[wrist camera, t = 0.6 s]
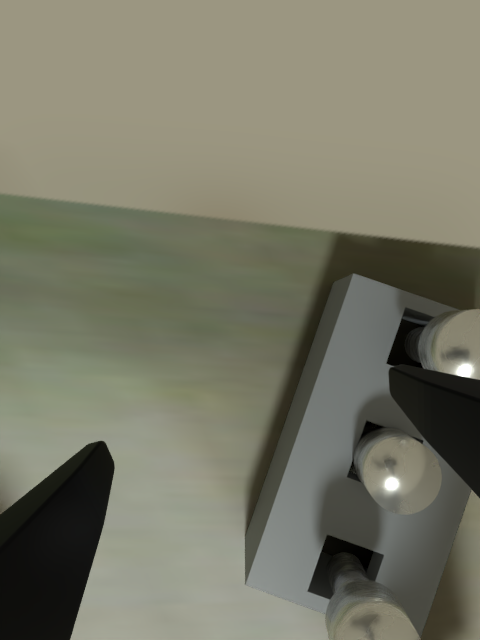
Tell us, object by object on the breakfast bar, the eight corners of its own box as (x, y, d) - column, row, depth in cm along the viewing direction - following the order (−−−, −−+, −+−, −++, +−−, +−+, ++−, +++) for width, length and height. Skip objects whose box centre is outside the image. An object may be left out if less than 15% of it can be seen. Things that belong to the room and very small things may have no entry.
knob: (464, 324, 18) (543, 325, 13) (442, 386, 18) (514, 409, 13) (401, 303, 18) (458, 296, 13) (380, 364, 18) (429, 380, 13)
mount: (473, 330, 22) (525, 332, 18) (385, 588, 22) (417, 647, 18) (333, 282, 22) (353, 273, 18) (244, 537, 22) (245, 585, 18)
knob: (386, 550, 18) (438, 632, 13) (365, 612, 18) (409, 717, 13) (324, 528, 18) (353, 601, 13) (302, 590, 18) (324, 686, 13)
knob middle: (403, 423, 21) (452, 454, 16) (384, 478, 21) (427, 525, 16) (348, 404, 21) (380, 429, 16) (329, 458, 21) (356, 499, 16)
